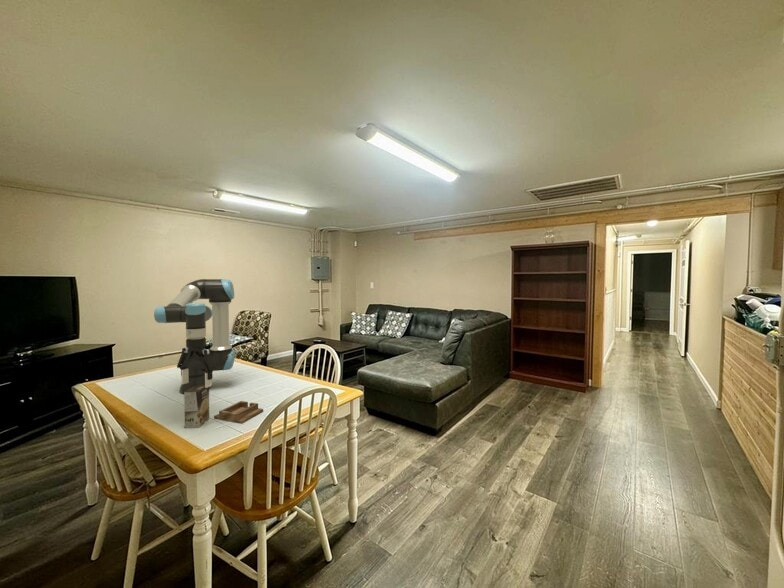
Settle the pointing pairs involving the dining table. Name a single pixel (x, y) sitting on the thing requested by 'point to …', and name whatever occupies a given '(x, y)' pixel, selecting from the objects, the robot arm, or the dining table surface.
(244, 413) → the pocket board
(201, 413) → the coffee box
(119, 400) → the dining table surface
